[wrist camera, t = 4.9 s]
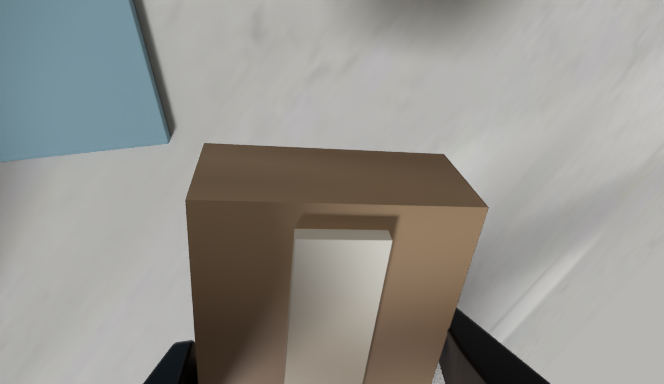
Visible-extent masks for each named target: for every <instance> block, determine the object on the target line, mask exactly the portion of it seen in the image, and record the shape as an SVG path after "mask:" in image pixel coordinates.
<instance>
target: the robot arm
mask: <svg viewBox="0 0 664 384" xmlns="http://www.w3.org/2000/svg"><path fill="white" fill-rule="evenodd" d="M439 364H440V367H441V370H442V374H443V377H444V381H445V384H550V383H549V382H548V381H547V380H545V379H544V378H543V377H542V376H540V375H539V374H538V373H537V372H535V371H534V370H533V369H532V368H531V367H529V366H528V365H527V364H526V363H524V362H523V361H522V360H521V359H519V358H518V357H517V356H516V355H514V354H513V353H512V352H511V351H510V350H508V349H507V348H506V347H505V346H503V345H502V344H501V343H500V342H498V341H497V340H496V339H495V338H494V337H492V336H491V335H490V334H489V333H487V332H486V331H485V330H484V329H482V328H481V327H480V326H479V325H477V324H476V323H475V322H474V321H473V320H471V319H470V318H469V317H468V316H466V315H465V314H464V313H463V312H461V311H460V310H459V309H458V308H457V307H456V309H455V312H454V315H453V318H452V321H451V325H450V328H449V329H448V330H447V337H446V340H445V343H444V346H443V349H442V352H441V355H440V358H439ZM143 384H198V374H197V360H196V345H195V342H194V341H192V340H189V341H182V342H176V343H175V344H173V345H172V346H171V348H170V349H169V350H168V352H167V353H166V354H165V356H164V357H163V358H162V360H161V361H160V362H159V363H158V365H157V366H156V367H155V369H154V370H153V371H152V373H151V374H150V375H149V377H148V378H147V379H146V381H145V382H144V383H143Z"/></svg>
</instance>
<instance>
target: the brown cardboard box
mask: <svg viewBox="0 0 664 384" xmlns="http://www.w3.org/2000/svg"><path fill="white" fill-rule="evenodd" d="M185 201H186V215H187V230H188V244H189V259H190V273H191V288H192V302H193V317H194V331H195V345H196V360H197V374H198V384H431V383H432V380H433V377H434V373H435V370H436V367H437V364H438V361H439V358H440V355H441V352H442V349H443V346H444V343H445V340H446V337H447V330H448V329H449V328H450V325H451V321H452V318H453V315H454V312H455V309H456V306H457V303H458V300H459V297H460V294H461V291H462V288H463V285H464V282H465V279H466V276H467V273H468V270H469V266H470V263H471V260H472V257H473V254H474V251H475V248H476V245H477V242H478V239H479V236H480V233H481V230H482V227H483V224H484V221H485V218H486V215H487V211H488V208H489V207H488V206H487V205H486V204H485V202H484V201H483V200H482V199H481V198H480V197H479V195H478V194H477V193H476V192H475V191H474V189H473V188H472V187H471V186H470V185H469V183H468V182H467V181H466V180H465V179H464V177H463V176H462V175H461V174H460V173H459V171H458V170H457V169H456V168H455V167H454V166H453V164H452V163H451V162H450V161H449V160H448V158H447V157H446V156H445V155H444V154H428V153H406V152H385V151H363V150H341V149H319V148H298V147H276V146H254V145H233V144H211V143H204V145H203V148H202V151H201V154H200V157H199V160H198V163H197V166H196V169H195V172H194V175H193V178H192V181H191V184H190V187H189V191H188V194H187V197H186V200H185Z"/></svg>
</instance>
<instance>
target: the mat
mask: <svg viewBox="0 0 664 384" xmlns="http://www.w3.org/2000/svg"><path fill="white" fill-rule="evenodd" d="M170 140H171V138H170V134H169V130H168V127H167V123H166V119H165V116H164V112H163V108H162V105H161V101H160V97H159V94H158V90H157V87H156V83H155V79H154V76H153V72H152V68H151V65H150V61H149V57H148V54H147V50H146V46H145V43H144V39H143V35H142V32H141V28H140V24H139V21H138V17H137V14H136V10H135V6H134V3H133V0H0V162H4V161H13V160H23V159H32V158H41V157H50V156H59V155H68V154H78V153H87V152H96V151H105V150H114V149H123V148H133V147H142V146H151V145H160V144H168V143H169V141H170Z"/></svg>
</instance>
